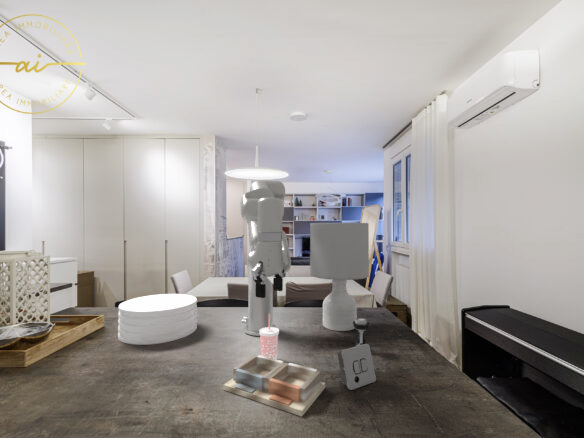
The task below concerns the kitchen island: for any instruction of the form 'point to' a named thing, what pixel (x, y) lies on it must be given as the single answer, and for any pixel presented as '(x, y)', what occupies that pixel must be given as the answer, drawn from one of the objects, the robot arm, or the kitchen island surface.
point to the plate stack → (157, 318)
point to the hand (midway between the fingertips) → (269, 293)
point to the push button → (361, 329)
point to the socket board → (276, 383)
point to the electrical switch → (356, 366)
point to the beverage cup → (269, 341)
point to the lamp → (339, 267)
